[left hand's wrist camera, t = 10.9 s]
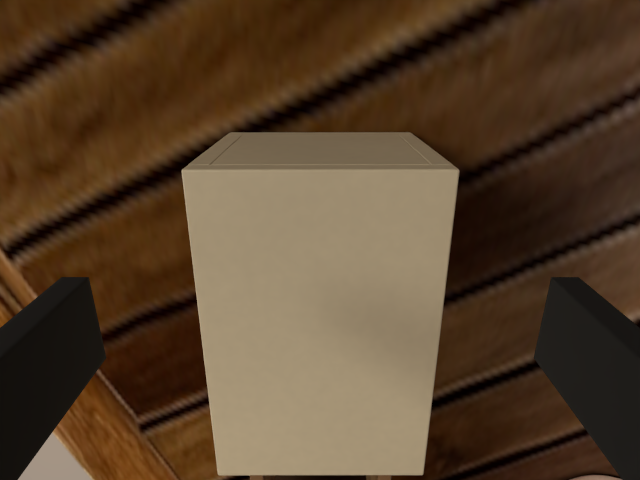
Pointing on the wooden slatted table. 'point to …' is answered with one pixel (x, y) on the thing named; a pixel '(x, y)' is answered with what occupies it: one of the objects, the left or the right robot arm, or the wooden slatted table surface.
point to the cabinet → (320, 297)
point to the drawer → (320, 477)
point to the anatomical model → (595, 477)
